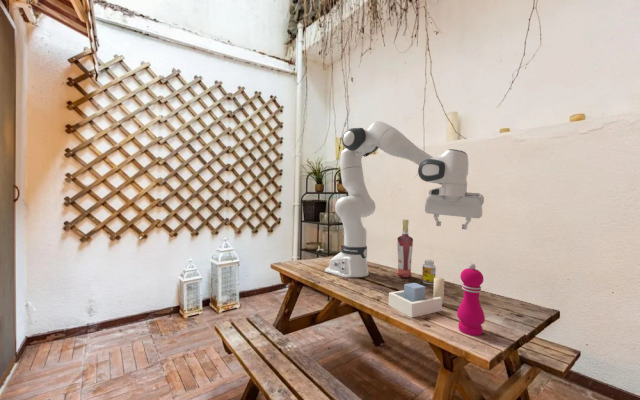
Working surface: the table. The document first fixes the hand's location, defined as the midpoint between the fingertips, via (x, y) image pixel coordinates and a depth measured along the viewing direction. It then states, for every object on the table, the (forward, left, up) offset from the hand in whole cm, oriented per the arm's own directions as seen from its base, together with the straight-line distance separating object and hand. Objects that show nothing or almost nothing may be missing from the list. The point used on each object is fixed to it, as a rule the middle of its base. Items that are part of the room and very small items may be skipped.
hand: (451, 227), depth 110 cm
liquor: (-24, +18, -28) cm, 41 cm away
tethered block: (-5, -13, -28) cm, 31 cm away
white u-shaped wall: (-8, -18, -28) cm, 34 cm away
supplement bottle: (-12, +16, -28) cm, 34 cm away
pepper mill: (+10, -25, -28) cm, 39 cm away
